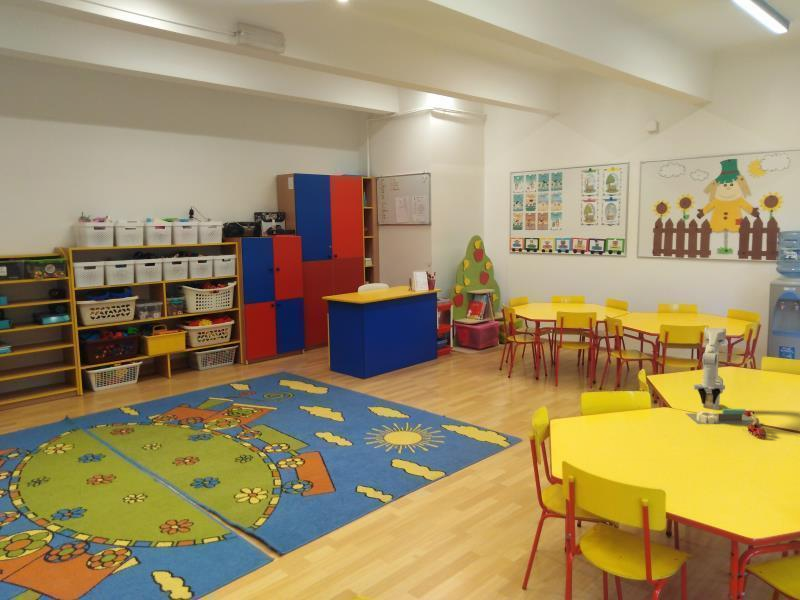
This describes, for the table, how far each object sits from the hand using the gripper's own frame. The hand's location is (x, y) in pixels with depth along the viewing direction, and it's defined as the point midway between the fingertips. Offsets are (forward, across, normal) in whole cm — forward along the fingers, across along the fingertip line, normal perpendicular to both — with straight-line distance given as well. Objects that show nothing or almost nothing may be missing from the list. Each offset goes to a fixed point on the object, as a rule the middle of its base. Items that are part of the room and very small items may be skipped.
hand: (708, 403), depth 300 cm
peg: (+2, 0, 0) cm, 2 cm away
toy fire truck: (+10, +15, -16) cm, 24 cm away
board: (+10, +8, +2) cm, 13 cm away
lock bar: (+5, +13, 0) cm, 14 cm away
